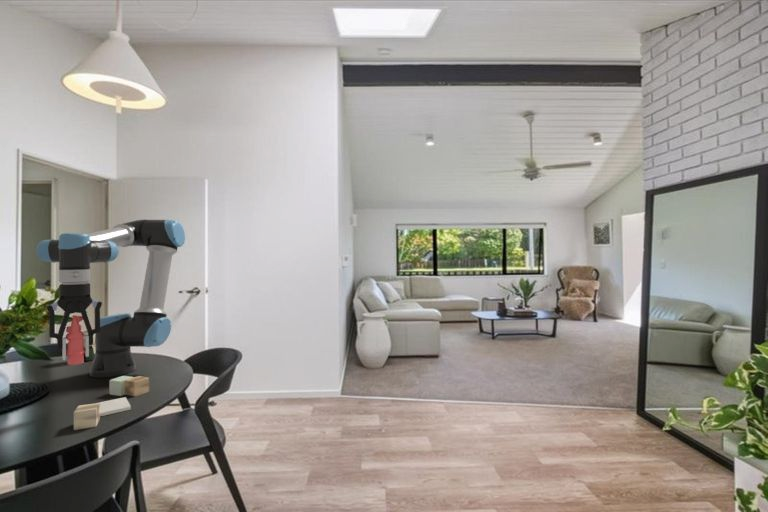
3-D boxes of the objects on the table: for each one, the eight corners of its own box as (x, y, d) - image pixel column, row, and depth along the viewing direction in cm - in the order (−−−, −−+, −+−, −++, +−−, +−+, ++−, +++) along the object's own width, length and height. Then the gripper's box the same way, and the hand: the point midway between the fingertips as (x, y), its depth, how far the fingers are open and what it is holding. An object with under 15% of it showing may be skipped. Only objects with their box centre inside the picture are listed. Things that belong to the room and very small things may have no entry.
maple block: (78, 423, 109) (78, 405, 109) (99, 419, 111) (100, 402, 111) (73, 430, 104) (73, 412, 104) (96, 426, 107) (96, 409, 106)
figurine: (81, 359, 122) (80, 313, 122) (89, 362, 120) (89, 314, 119) (62, 363, 117) (61, 315, 117) (70, 366, 115) (69, 317, 115)
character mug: (68, 364, 164) (68, 334, 164) (72, 360, 170) (72, 331, 170) (99, 360, 169) (99, 331, 169) (102, 356, 176) (102, 328, 176)
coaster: (87, 408, 119) (87, 404, 119) (125, 400, 125) (125, 397, 125) (90, 418, 111) (90, 415, 111) (130, 409, 118) (130, 406, 118)
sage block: (109, 394, 130) (109, 380, 130) (123, 389, 135) (123, 375, 135) (120, 396, 129) (120, 381, 129) (134, 391, 134) (134, 377, 134)
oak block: (125, 394, 130) (125, 380, 130) (139, 389, 135) (139, 375, 135) (134, 396, 129) (134, 382, 128) (149, 391, 133) (149, 377, 133)
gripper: (35, 285, 109) (36, 366, 110) (111, 282, 121) (112, 354, 122) (36, 283, 115) (37, 360, 115) (108, 280, 127) (109, 349, 127)
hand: (75, 357), depth 118 cm, fingers closed on figurine, 5 cm apart
